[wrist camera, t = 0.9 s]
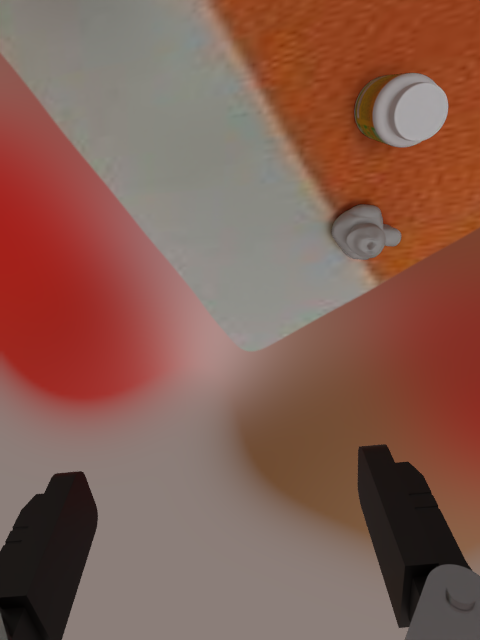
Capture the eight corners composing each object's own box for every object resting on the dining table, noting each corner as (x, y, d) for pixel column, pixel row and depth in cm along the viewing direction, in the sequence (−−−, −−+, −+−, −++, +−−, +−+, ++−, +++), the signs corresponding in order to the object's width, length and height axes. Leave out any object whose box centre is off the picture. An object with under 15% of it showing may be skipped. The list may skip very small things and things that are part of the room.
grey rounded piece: (333, 197, 45) (351, 217, 38) (396, 203, 45) (426, 224, 38) (323, 248, 47) (339, 276, 40) (384, 253, 48) (410, 282, 41)
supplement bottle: (344, 130, 42) (372, 140, 33) (366, 67, 40) (403, 60, 31) (396, 146, 43) (437, 160, 34) (421, 85, 40) (472, 83, 32)
